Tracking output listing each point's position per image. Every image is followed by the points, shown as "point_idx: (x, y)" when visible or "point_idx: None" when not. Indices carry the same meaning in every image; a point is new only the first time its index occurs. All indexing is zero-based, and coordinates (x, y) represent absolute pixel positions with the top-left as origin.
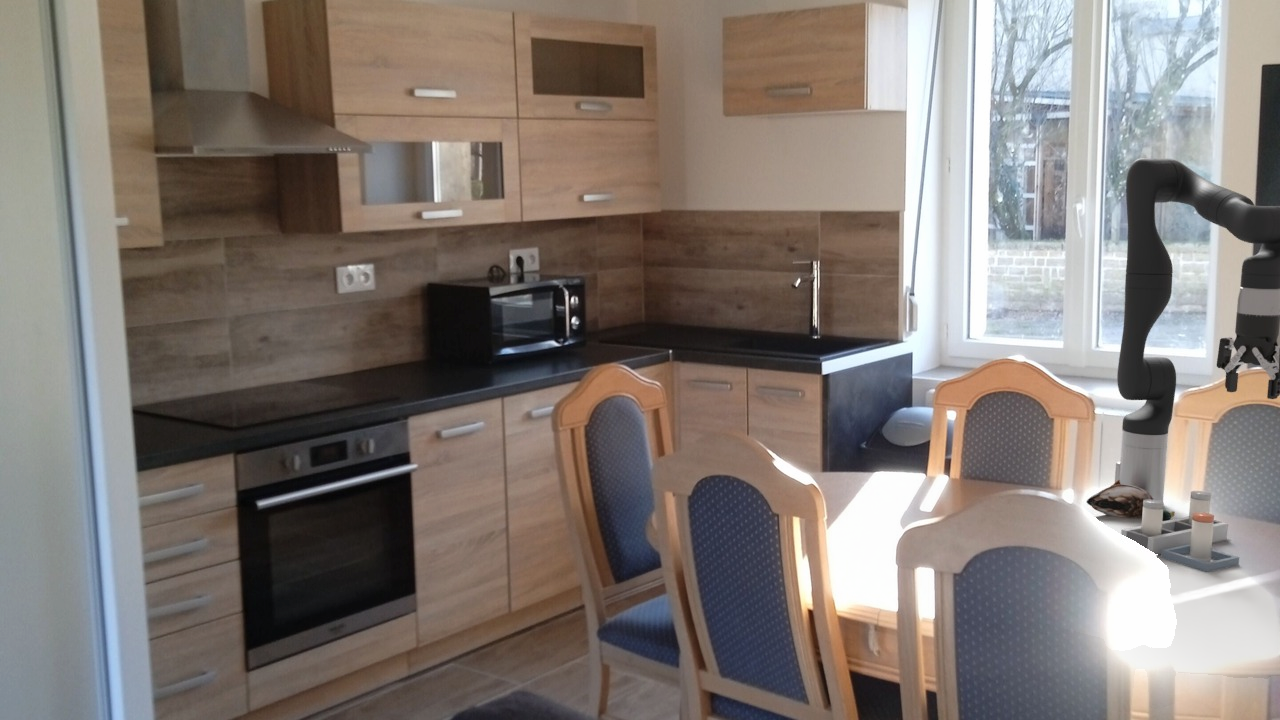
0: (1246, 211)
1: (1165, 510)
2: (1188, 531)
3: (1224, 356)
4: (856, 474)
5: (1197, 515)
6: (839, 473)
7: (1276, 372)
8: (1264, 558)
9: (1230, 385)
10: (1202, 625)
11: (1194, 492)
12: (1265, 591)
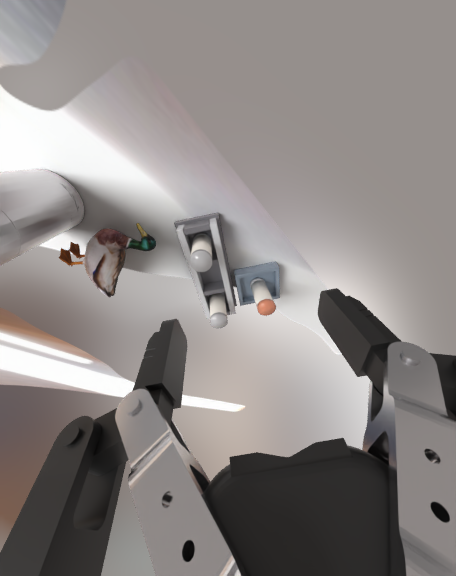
0: None
1: (144, 242)
2: (227, 278)
3: (106, 526)
4: None
5: (266, 313)
6: None
7: (403, 383)
8: (260, 211)
9: (185, 360)
10: (324, 336)
11: (196, 266)
12: (314, 275)
